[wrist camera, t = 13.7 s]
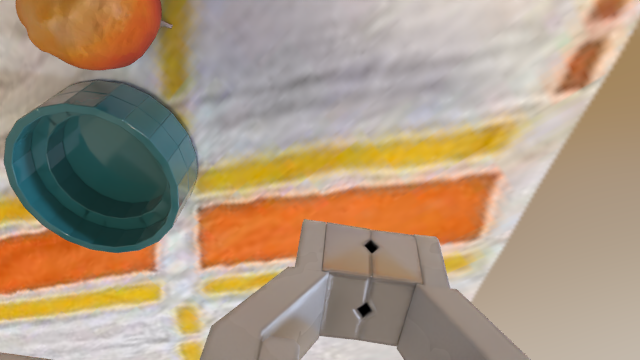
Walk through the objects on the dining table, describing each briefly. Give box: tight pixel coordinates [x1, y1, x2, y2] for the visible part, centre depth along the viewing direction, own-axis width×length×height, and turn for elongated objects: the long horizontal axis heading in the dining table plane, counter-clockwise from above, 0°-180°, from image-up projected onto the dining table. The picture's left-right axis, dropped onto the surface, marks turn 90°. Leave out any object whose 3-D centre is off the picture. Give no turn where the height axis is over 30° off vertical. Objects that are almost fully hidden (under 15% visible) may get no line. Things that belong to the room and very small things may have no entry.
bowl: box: [4, 80, 197, 253], centre depth 35 cm, size 12×12×5 cm
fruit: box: [16, 0, 172, 70], centre depth 28 cm, size 8×8×8 cm
